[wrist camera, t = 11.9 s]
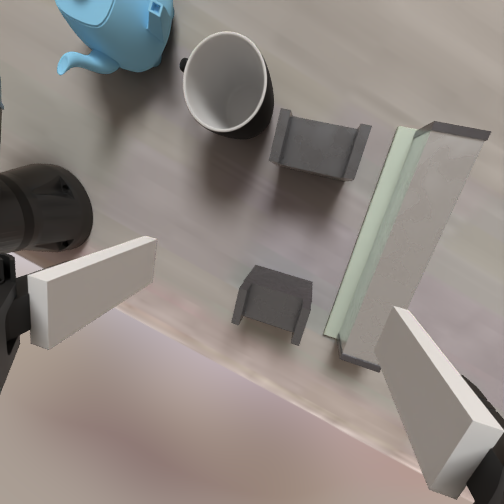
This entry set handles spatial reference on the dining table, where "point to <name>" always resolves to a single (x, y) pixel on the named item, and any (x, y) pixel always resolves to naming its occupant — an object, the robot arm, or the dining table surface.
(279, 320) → the post
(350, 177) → the post
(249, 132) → the mug
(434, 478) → the robot arm
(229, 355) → the dining table surface
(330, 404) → the dining table surface
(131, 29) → the teapot
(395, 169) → the mat
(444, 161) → the rail
